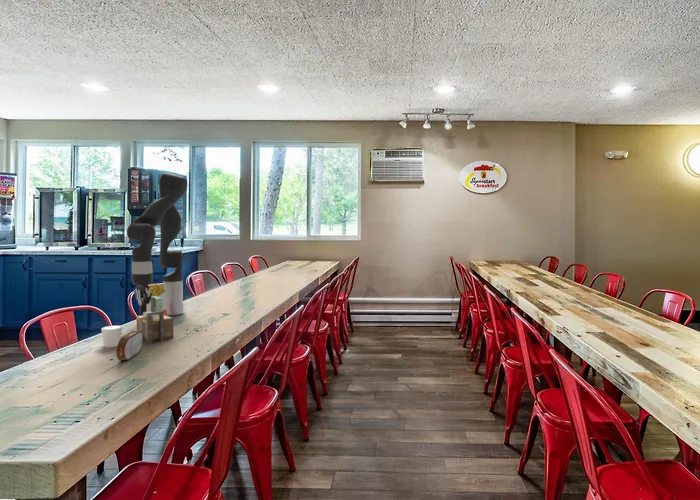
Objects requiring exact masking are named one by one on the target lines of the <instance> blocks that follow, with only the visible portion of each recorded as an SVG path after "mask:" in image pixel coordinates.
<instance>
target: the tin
mask: <svg viewBox="0 0 700 500" xmlns="http://www.w3.org/2000/svg"><path fill="white" fill-rule="evenodd" d="M143 340H144V339H143V334H142V332H140V331H137V330H131V331H129V332H128V333H126V334H124V335H123V336H122V335H121V339H120V340H119V342H118V345H117V346H116V357H117V360H118V361H129V360H131V359H133V357H135V356H136V355H138V354H139V353H140V352H141V350H142V346H143Z"/></svg>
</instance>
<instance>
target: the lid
mask: <svg viewBox="0 0 700 500" xmlns="http://www.w3.org/2000/svg"><path fill="white" fill-rule="evenodd" d="M158 311H162V298H161V297H157V296H153V297H151V312H158ZM158 315H159V314H158ZM165 318H172V317H171V316H170V315H167V316H166V315H164V319H165ZM137 319H138V320H140V321H142V322H145V323H147V319H145V318H143V314H140V315H136V320H137Z"/></svg>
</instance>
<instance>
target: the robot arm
mask: <svg viewBox="0 0 700 500" xmlns="http://www.w3.org/2000/svg"><path fill="white" fill-rule="evenodd" d="M158 182H159V183H158V187H159V189H158V190H159V198H158V199H156V200H155V201H153V202H151V203H150V204H149V205H148V206H147V207H146V209H145V211H143V213H142V214H141V215H140V216H138V217H137V218H136V219H134V220H133V221H131V222H130V224H129V225H128V227H127V230H126V235H127V237H128V239H129V240H131V241H134V242H136V241H138V242H139V241H141V243H140V245H139V246H136V247H133V248H132V249H131V256H132V257H131V262H132V263H131V279H132V280H131V283H132V285H134V286H135V285H136V287H135V289H134V291H133V292H134V297H135V300H136V303H137V304H138V305H139V314H140V315H143V312H147V304H149V302H150V299H151V296H152V293H149V288H150V285H152V284H153V281H154V280H153V275H154V274H153V263H152V251H153V246H154V242H155V239H156V234H157V232H156V229H155V227H156V226H158V224H160V227H159V228H160V246H159V247H160V248H159V257H158V258H159V264H160V265H159V266H160V267H161V268H164V269H171V268H172V269H173V268H175V269H174V270H173V271H171V272H169V273H166V274H165V275H163V277H162V285H164V290H165V292H166V296H167V316H178V315H181V314H184V296H183V295H184V294H183V293H184V292H183V291H184V290H183V285H184V284H183V281H184V280H183V259H184V258H183V257H184V255H183V250H181V249H169V247H170V245H171V244H172V242H173V241H174V240H175V239H176V238H177V237H178V235H179V234H180V232H181V230H182V217H181V214H180V212H179V210H178V209H177V207H176V206H175V204H176V203H177V202H178V201H179V200H180V199H181V198H182V197H183V195H185V193H186V191H187V189H188V180H187V177H184V176H182V175H179V174H173V173H170V172H163V173H162V174H161V176H160V178H159V181H158Z"/></svg>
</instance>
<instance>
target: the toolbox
mask: <svg viewBox="0 0 700 500" xmlns="http://www.w3.org/2000/svg"><path fill="white" fill-rule="evenodd" d="M157 314H159V321H154V322H153V321H152V315H157ZM136 331H140V332H142V334H143V340H145V341H146V342H147V344H148V345H152V344H153V343H155V342H164V341H165V340H169V339H173V338H174V318H173V317H171V318H165V319H164V311H158V312H152V313H147V323H145V322H142V321H140V320H138V319H137V318H136Z"/></svg>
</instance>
